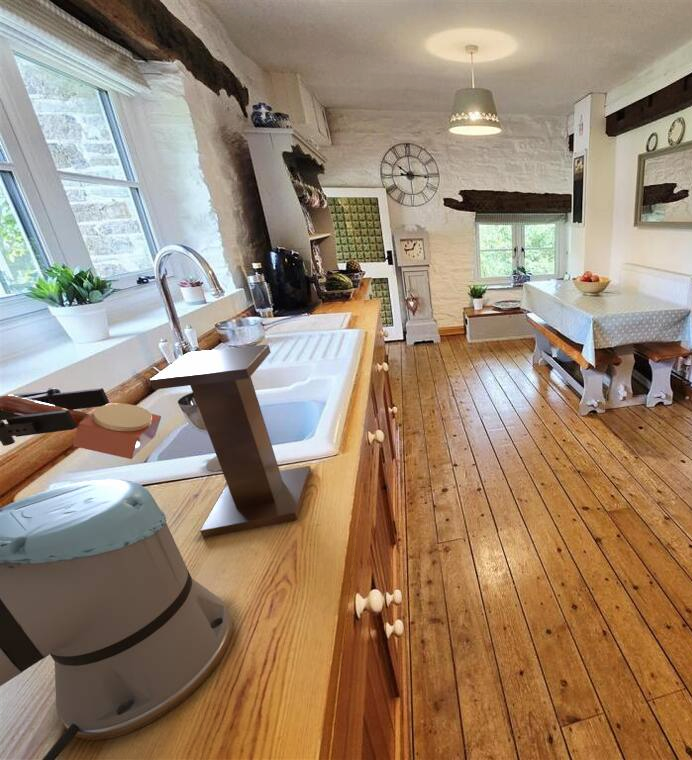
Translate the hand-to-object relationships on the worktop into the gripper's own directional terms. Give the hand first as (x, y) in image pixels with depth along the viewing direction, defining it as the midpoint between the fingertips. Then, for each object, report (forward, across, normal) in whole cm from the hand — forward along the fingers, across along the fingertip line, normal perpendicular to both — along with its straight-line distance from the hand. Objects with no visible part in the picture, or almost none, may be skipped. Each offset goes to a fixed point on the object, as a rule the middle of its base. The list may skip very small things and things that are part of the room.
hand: (88, 407), depth 60 cm
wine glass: (+7, -17, -22) cm, 29 cm away
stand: (+18, 0, -22) cm, 28 cm away
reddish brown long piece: (-3, 0, -3) cm, 5 cm away
